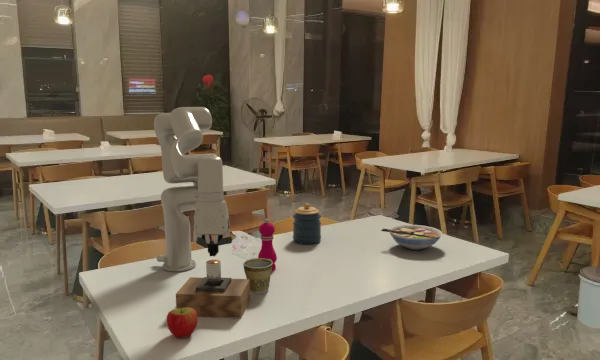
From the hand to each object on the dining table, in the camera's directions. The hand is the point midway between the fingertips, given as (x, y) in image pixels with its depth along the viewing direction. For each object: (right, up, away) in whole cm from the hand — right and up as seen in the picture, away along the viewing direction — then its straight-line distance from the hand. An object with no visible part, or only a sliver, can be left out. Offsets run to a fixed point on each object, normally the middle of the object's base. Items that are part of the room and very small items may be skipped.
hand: (213, 255), depth 154 cm
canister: (+30, -5, +75) cm, 81 cm away
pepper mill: (+14, -11, +38) cm, 42 cm away
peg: (0, -11, +2) cm, 11 cm away
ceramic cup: (+13, -15, +18) cm, 27 cm away
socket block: (0, -17, +3) cm, 17 cm away
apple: (-6, -20, -15) cm, 26 cm away
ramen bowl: (+77, -7, +64) cm, 101 cm away
